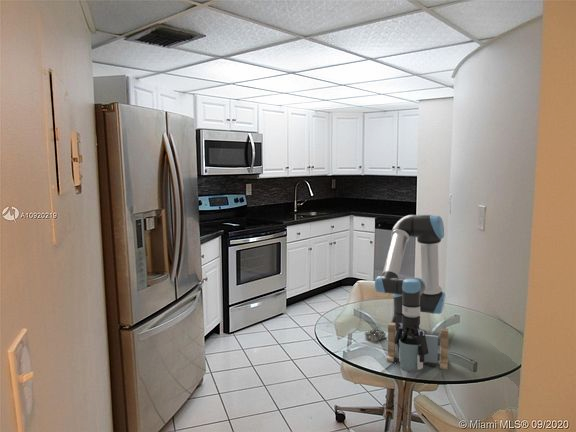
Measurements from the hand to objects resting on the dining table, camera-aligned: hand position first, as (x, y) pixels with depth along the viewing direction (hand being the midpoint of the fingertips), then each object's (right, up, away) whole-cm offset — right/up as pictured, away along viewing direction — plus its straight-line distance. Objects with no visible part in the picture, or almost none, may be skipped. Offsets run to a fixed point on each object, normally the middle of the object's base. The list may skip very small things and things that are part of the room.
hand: (410, 364), depth 193 cm
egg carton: (-9, +1, +36) cm, 37 cm away
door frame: (+5, 0, +7) cm, 8 cm away
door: (+5, 0, +7) cm, 9 cm away
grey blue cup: (0, -1, 0) cm, 1 cm away
